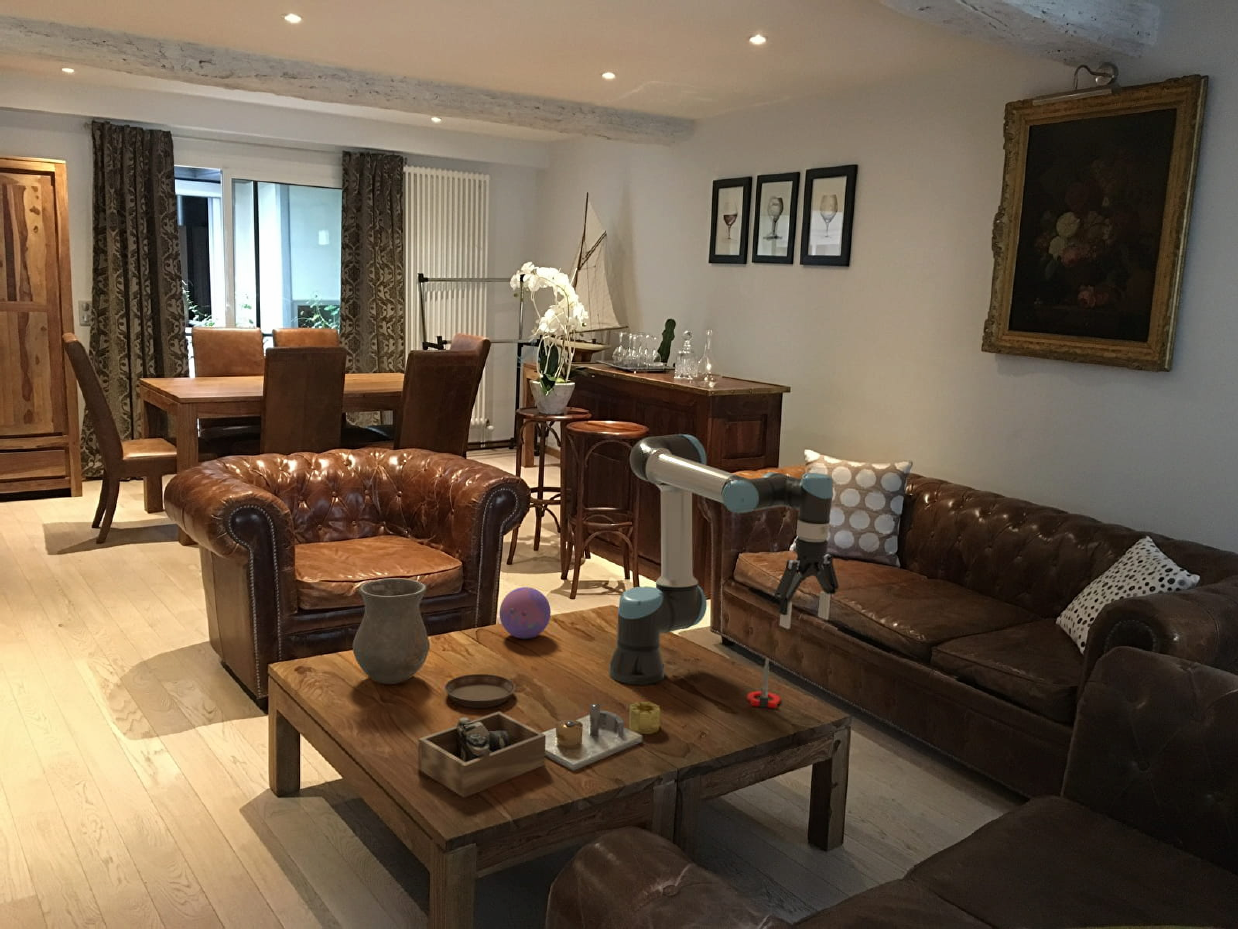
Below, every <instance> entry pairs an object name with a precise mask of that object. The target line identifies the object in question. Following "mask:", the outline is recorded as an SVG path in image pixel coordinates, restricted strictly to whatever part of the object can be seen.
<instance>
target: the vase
mask: <svg viewBox="0 0 1238 929" xmlns="http://www.w3.org/2000/svg"><path fill="white" fill-rule="evenodd" d="M426 590H427V584H424V583H422V582H420V581H419V580H416V579H409V578H401V577H399V578H398V577H397V578H396V577H393V578H382V579H376V580H372V581H367V582H365V583H363V584H362V585H360V587H359V593H360V595H361V597H362V599H363V604H364V615H363V617H362V621H361V623H360V625H359V627H358V630H357V632H356V634H355V636H354V639H353V642H352V651H353V655H354V657H355V658H354V659H355V661H356V662H357V664H358V666H359V667H360V669H361V670H362V671H363V672H364V674H366V675H367V676H368V677H369V678H370V679H371V680H373V681H374V682H376V683H380V684H385V685H395V684H401V683H403V682H405V681H406V682H407V681H408V680H409V679H410V678H411V677H413V676H414V675H416V673H417V672H419V671H420V669H421V668H422V667H423V665H424V664H425V662H426V660H427V658H428V655H429V651H430V648H431V644H430V640H429V637H428V633H427V630H426V627H425V625H424V621H423V618H422V614H421V611H420V603H421V602H422V599H423V597H424V595H425V593H426Z"/></svg>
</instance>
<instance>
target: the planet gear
mask: <svg viewBox="0 0 1238 929" xmlns="http://www.w3.org/2000/svg"><path fill="white" fill-rule="evenodd" d="M660 713H661V709H660V706H659V705H658V704H656V703H654V702H651V701H637V702H634V703H631V704H629V717H628V718H629V722H628V727H629V728H628V729H629V730H631V731H633V732H635V733H638V734H640V735H651V734H654V733H657V732H659V730H660V729H659V728H660V719H661V718H660V717H661V716H660V715H661V714H660Z"/></svg>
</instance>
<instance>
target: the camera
mask: <svg viewBox="0 0 1238 929" xmlns="http://www.w3.org/2000/svg"><path fill="white" fill-rule="evenodd" d="M470 721H471V720H470V719H469V717H466V716H464V717H461V718H460V719H459V720H458V721H457V724H456V726H457V754H458V757H457V758H459V759H460V760H462V761H464V762H468V761H471V760H474V759H476V758H479V757H482V756H485V755H488V754H490V753H492V752H495V751H498V750H500V749H503V748H506V747H508V746H511V742H510V738H509V735H508V733H507V732H506V731H500V730H499V731H489V732H488V731H487V729H486V728H485V727H484V725H483V724H482V723H481V722H477V723H474V724H473V722H470Z"/></svg>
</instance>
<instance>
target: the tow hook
mask: <svg viewBox="0 0 1238 929" xmlns="http://www.w3.org/2000/svg"><path fill="white" fill-rule="evenodd" d="M769 660H770V659H769V658H768V657H766V658H765V663H764V664H765V665H764V668H763V678H762V687H761V689H760V690H761V691H757V690H756V691H751V692H749V693H748V694H747V697H746V698H747V701H749V702H750V706H752V707H759V708H767V709H769V708H770V709H777V706H778V705H779V704H780V702H781V698H780V697H779V696H778V695H776V694H775V693H772V692H769V687H768V685H769V684H768V683H769V672H770V670H769V669H770V666H769ZM756 697H759V699H757V698H756ZM769 698H770V699H772V700H769Z"/></svg>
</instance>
